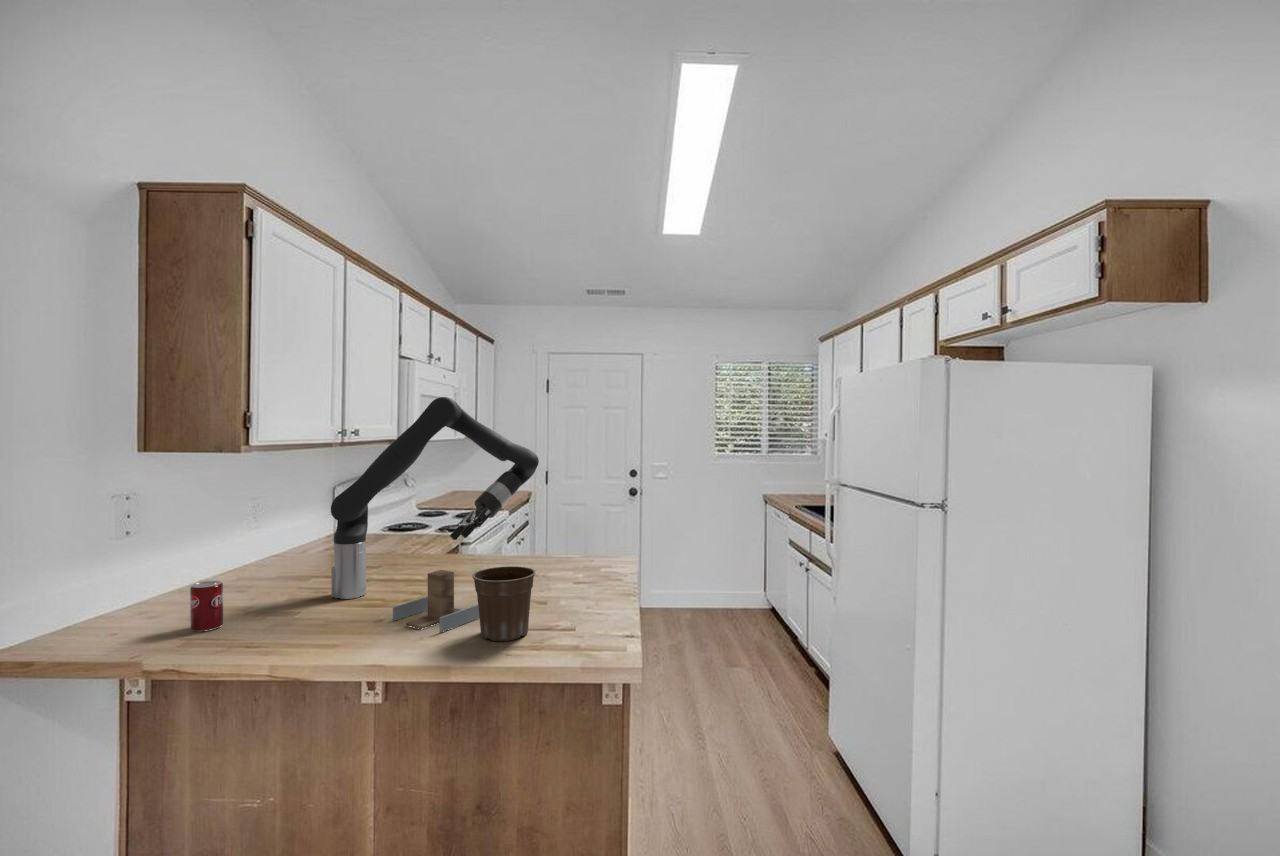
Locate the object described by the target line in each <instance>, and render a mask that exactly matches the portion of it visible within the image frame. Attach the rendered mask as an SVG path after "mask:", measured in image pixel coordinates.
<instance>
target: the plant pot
mask: <svg viewBox="0 0 1280 856" xmlns="http://www.w3.org/2000/svg"><path fill="white" fill-rule="evenodd" d="M535 575H536V571H535V569H533V568H531V567H525V566H516V565H515V566H513V565H512V566H509V565H508V566H507V565H505V566H496V567H488V568H484V569H479V570H478V571H477V570H476V571H475V572H474V573H472V579H473V580H474V581H473V582H474V590H475V592H476V597H477V604H478V607H479V618H480V619H479V627H480V636H481V638H482V639H484V640H488V639H489V640H490V641H492V642H507V641H508V642H509V641H513V640H517V639H520V638H521V636H522V637H526V635H528V633H529V624H530V623H529V621H530V620H529V619H530V611H531V607H530V606H531V599H532V597H531V596H532V589H533V587H534V576H535Z"/></svg>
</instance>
